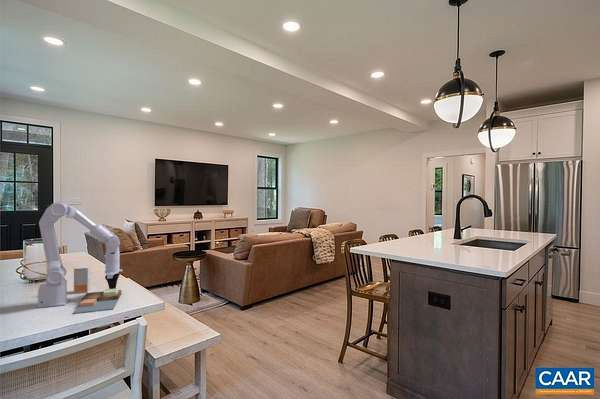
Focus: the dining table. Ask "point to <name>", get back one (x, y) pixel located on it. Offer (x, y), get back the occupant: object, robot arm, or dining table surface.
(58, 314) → the dining table surface
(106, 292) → the tile sage
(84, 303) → the tile terracotta
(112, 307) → the mat
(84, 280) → the skincare box
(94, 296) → the riser
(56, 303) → the robot arm
